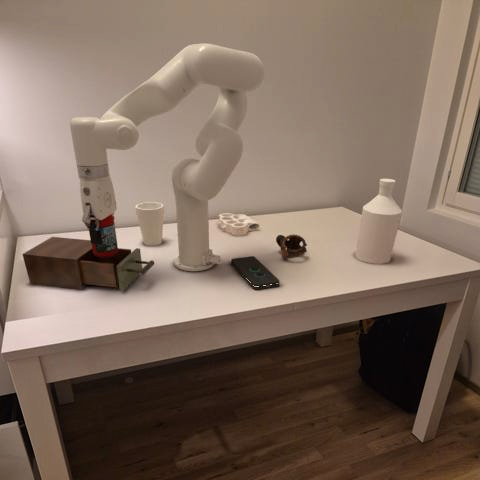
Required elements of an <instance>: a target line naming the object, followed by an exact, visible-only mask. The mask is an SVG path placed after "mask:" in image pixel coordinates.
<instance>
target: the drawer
mask: <svg viewBox="0 0 480 480" xmlns="http://www.w3.org/2000/svg"><path fill="white" fill-rule="evenodd" d="M78 262H79V267H80V272H81V277H82V282H83V284H88V285H92V286H102V287H110V288H117V287H119V290H120V291H125V290H126V289H127V288H128V287H130V285H131V284H132V283H133V282H134V281H135V280H136V279H137V278H138V277H139V276H140V275H141V276H145V275H146V274H147V273H148V272H149V270H151V269H152V267H154V265H155V261H154V260H151V259H150V260H149V261H145V260H142V253H141V248H137V247H136V248H135V249H133V251H132V249H131V248H121V247H118V253H116V254H115V255H114V256H112V257H109V258H100V257H98V256H96V255H94V254H93V251H91V252H90V253H89V254H87V255H86V256H85V257H83V258H82V259H81V260H79V261H78ZM143 265H144V267H143Z"/></svg>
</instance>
